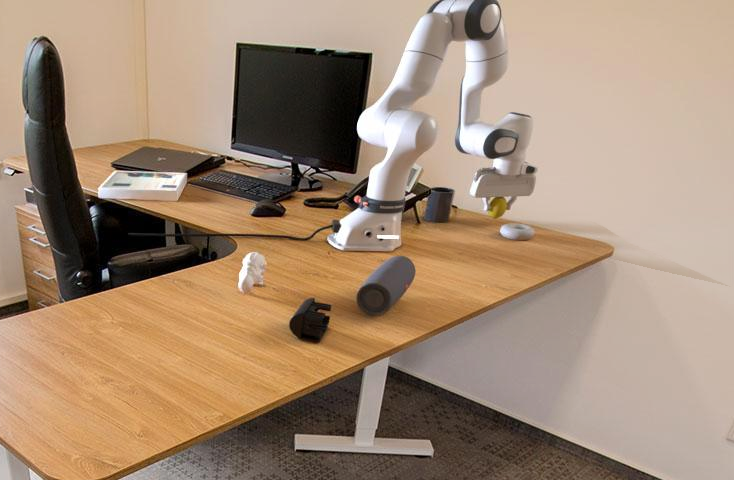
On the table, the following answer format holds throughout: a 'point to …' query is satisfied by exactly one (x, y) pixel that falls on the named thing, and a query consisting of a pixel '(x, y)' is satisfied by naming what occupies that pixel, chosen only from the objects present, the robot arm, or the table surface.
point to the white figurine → (252, 271)
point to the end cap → (310, 321)
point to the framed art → (143, 185)
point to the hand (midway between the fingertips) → (496, 210)
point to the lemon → (497, 207)
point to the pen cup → (439, 204)
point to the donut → (517, 231)
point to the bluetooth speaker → (386, 285)
